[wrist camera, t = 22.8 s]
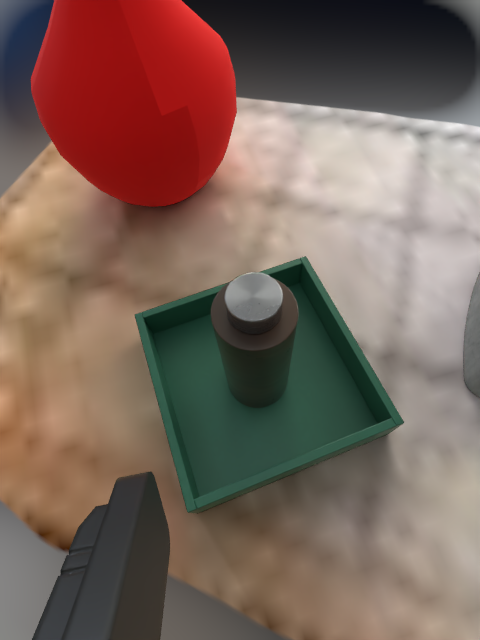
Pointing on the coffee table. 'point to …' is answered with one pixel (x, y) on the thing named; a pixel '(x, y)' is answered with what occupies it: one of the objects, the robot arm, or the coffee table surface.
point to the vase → (136, 96)
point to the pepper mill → (255, 336)
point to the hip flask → (473, 343)
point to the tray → (267, 422)
